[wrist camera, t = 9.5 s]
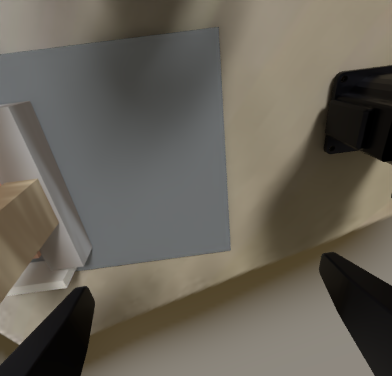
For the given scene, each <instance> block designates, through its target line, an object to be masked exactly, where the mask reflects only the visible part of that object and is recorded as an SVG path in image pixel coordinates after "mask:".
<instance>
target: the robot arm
mask: <svg viewBox="0 0 392 376" xmlns="http://www.w3.org/2000/svg"><path fill="white" fill-rule="evenodd" d="M343 76H344V80H343V81H342V82H341V78H342V77H343ZM325 133H326V137H325V144H324V151H325V152H327V153H328V154H335V153H343V152H350V151H358V150H360V151H362V152H364V153H366V154H368V155H370V156H372V157H374V158H376V159H378V160H380V161H382V162H387V163H389V164H391V165H392V65H389V66H381V67H373V68H366V69H358V70H350V71H342V72H339V73H338V74H337V75H336V77H335V79H334V86H333V92H332V99H331V102H330V104H329V110H328V116H327V123H326V129H325ZM331 146H332V148H331V149H330V150H329V148H330V147H331ZM391 198H392V195H391ZM319 272H320V275H321V277H322V279H323V281H324V284H325V286H326V288H327V290H328V292H329V294H330V297H331V299H332V301H333V303H334V305H335V307H336V310H337V312H338V314H339V315H340V317H341V319H342V321H343V322H344V324H345V326H346V327H347V329H348V331H349V332H350V334H351V336H352V338H353V339H354V341H355V343H356V345H357V346H358V348H359V350H360V351H361V353H362V355H363V356H364V358H365V359H366V361H367V363H368V365H369V367H370V368H371V370H372V372H373V373H374V375H375V376H392V286H391V285H389V284H388V283H386V282H384V281H383V280H381V279H379V278H377V277H376V276H374V275H372V274H370V273H369V272H367V271H366V270H364V269H362V268H360V267H359V266H357V265H355V264H354V263H352V262H350V261H348V260H347V259H345V258H343V257H342V256H340V255H338V254H337V253H334V252H329V253H323V254H322V256H321V261H320V267H319ZM94 307H95V301H94V298H93V296H92V294H91V292H90V290H89V288H88V287H87V286H83V287H77V288H75V289H74V290H73V291H72V292H71V293H70V294H69V295H68V296H67V297H66V298H65V299H64V300H63V301H62V302H61V303H60V304H59V305H58V306H57V307H56V308H55V309H54V310H53V311H52V312H51V313H50V314H49V315H48V316H47V317H46V319H45V320H44V321H43V322H42V323H41V324H40V325H39V326H38V327H37V328H36V329H35V330H34V331H33V332H32V333H31V334H30V335H29V336H28V337H27V338H26V339H25V340H24V341H23V342H22V343H21V344H20V345H19V347H17V348H16V349H15V351H14V352H13V353H12V354H11V355H10V356H9V357H8V358H7V359H6V360H5V361H4V362H3V363H2V364H1V365H0V376H81V372H82V368H83V364H84V361H85V357H86V353H87V348H88V343H89V338H90V332H91V326H92V320H93V314H94Z"/></svg>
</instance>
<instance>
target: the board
mask: <svg viewBox="0 0 392 376" xmlns="http://www.w3.org/2000/svg"><path fill="white" fill-rule="evenodd" d="M25 101H30V102H31V104H32V107H33V109H34V111H35V114H36V116H37V118H38V121H39V123H40V126H41V128H42V130H43V133H44V135H45V137H46V140H47V142H48V144H49V147H50V149H51V151H52V154H53V156H54V158H55V161H56V163H57V165H58V168H59V170H60V172H61V175H62V177H63V179H64V182H65V184H66V187H67V189H68V191H69V194H70V196H71V198H72V201H73V203H74V205H75V208H76V210H77V212H78V215H79V217H80V219H81V222H82V224H83V226H84V229H85V231H86V233H87V236H88V238H89V241H90V243H91V245H92V249H91V251H90V254H89V256H88V258H87V260H86V262H85V265H84V266H83V267H77V268H76V270H75V271H81V270H89V269H96V268H104V267H111V266H119V265H126V264H133V263H141V262H148V261H156V260H163V259H170V258H178V257H185V256H193V255H200V254H208V253H215V252H222V251H230V250H231V247H230V229H229V210H228V192H227V173H226V155H225V136H224V118H223V99H222V81H221V62H220V44H219V27H214V28H206V29H198V30H190V31H183V32H175V33H167V34H159V35H151V36H143V37H135V38H127V39H119V40H111V41H103V42H95V43H87V44H79V45H71V46H63V47H55V48H47V49H39V50H31V51H23V52H15V53H7V54H0V105H1V104H9V103H17V102H25ZM39 261H45V260H44V258H43V256H42V255H41V256H40V257H39V258H35V259H32V261H31V262H30V263H32V262H39Z"/></svg>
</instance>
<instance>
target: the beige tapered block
mask: <svg viewBox="0 0 392 376" xmlns="http://www.w3.org/2000/svg"><path fill="white" fill-rule="evenodd" d="M0 183H1V186H0V303H1V302H2V301H3V299H4V298H5V296H6V295H7V294H8V292H9V291H10V290H11V288H12V287H13V285H14V284H15V283H16V281H17V280H18V279H19V277H20V276H21V274H22V273H23V272H24V270H25V269H26V268H27V266H28V265H29V263H30V262H31V261H32V259H33V258H34V257H35V255H36V254H37V252H38V251H40V253H41V255H42V256H43V258H44V260H45V262H46V263H47V265H48V267H49V268H50V270H51V271H53V270H60V269H68V268H75V267H83V266H84V265H85V262H86V260H87V258H88V256H89V254H90V251H91V249H92V245H91V243H90V241H89V238H88V236H87V233H86V231H85V229H84V226H83V224H82V222H81V219H80V217H79V215H78V212H77V210H76V208H75V205H74V203H73V201H72V198H71V196H70V194H69V191H68V189H67V187H66V184H65V182H64V179H63V177H62V175H61V172H60V170H59V168H58V165H57V163H56V161H55V158H54V156H53V154H52V151H51V149H50V147H49V144H48V142H47V140H46V137H45V135H44V133H43V130H42V128H41V126H40V123H39V121H38V118H37V116H36V114H35V111H34V109H33V107H32V104H31V102H30V101H25V102H17V103H9V104H1V105H0Z"/></svg>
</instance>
